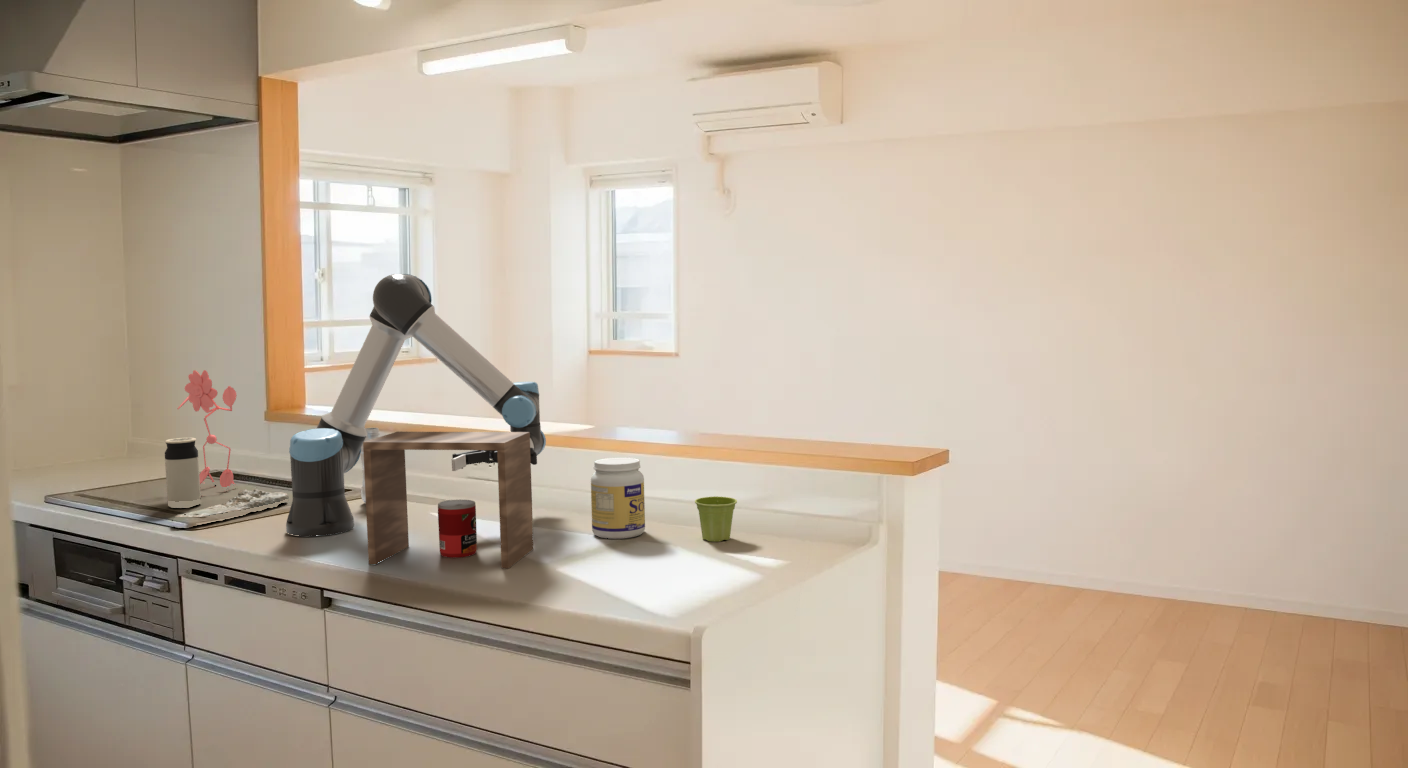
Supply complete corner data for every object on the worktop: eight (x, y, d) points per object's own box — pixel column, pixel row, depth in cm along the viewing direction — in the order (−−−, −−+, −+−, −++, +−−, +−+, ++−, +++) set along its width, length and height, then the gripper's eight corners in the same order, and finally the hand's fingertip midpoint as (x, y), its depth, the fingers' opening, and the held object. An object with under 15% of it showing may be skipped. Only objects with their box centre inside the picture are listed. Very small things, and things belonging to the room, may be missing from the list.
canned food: (468, 558, 226) (466, 506, 225) (433, 557, 228) (431, 506, 227) (483, 549, 233) (481, 499, 232) (448, 548, 235) (446, 498, 234)
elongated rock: (161, 534, 262) (191, 539, 258) (159, 513, 261) (190, 518, 257) (269, 499, 294) (298, 503, 290) (268, 480, 293) (297, 484, 289)
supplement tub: (633, 541, 239) (631, 466, 237) (582, 538, 243) (580, 464, 241) (653, 529, 250) (652, 457, 249) (605, 526, 254) (603, 455, 253)
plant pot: (739, 534, 244) (738, 496, 243) (736, 544, 235) (735, 504, 234) (697, 534, 245) (697, 496, 244) (693, 543, 236) (692, 504, 235)
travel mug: (207, 505, 289) (203, 438, 287) (179, 510, 282) (175, 442, 281) (189, 502, 293) (185, 436, 292) (161, 507, 287) (157, 440, 285)
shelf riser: (368, 565, 222) (363, 442, 220) (402, 546, 238) (397, 431, 236) (508, 568, 217) (504, 442, 215) (533, 549, 233) (529, 432, 231)
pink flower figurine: (199, 483, 323) (190, 366, 319) (258, 490, 310) (249, 368, 306) (152, 493, 309) (142, 371, 305) (211, 500, 297) (201, 374, 293)
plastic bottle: (359, 502, 289) (356, 428, 287) (385, 499, 292) (382, 426, 290) (363, 506, 283) (359, 430, 282) (389, 503, 286) (386, 429, 284)
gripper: (564, 464, 261) (536, 481, 240) (465, 465, 264) (430, 481, 244) (562, 434, 260) (535, 447, 239) (463, 435, 264) (428, 448, 243)
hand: (482, 464), depth 241 cm, fingers open, 13 cm apart
